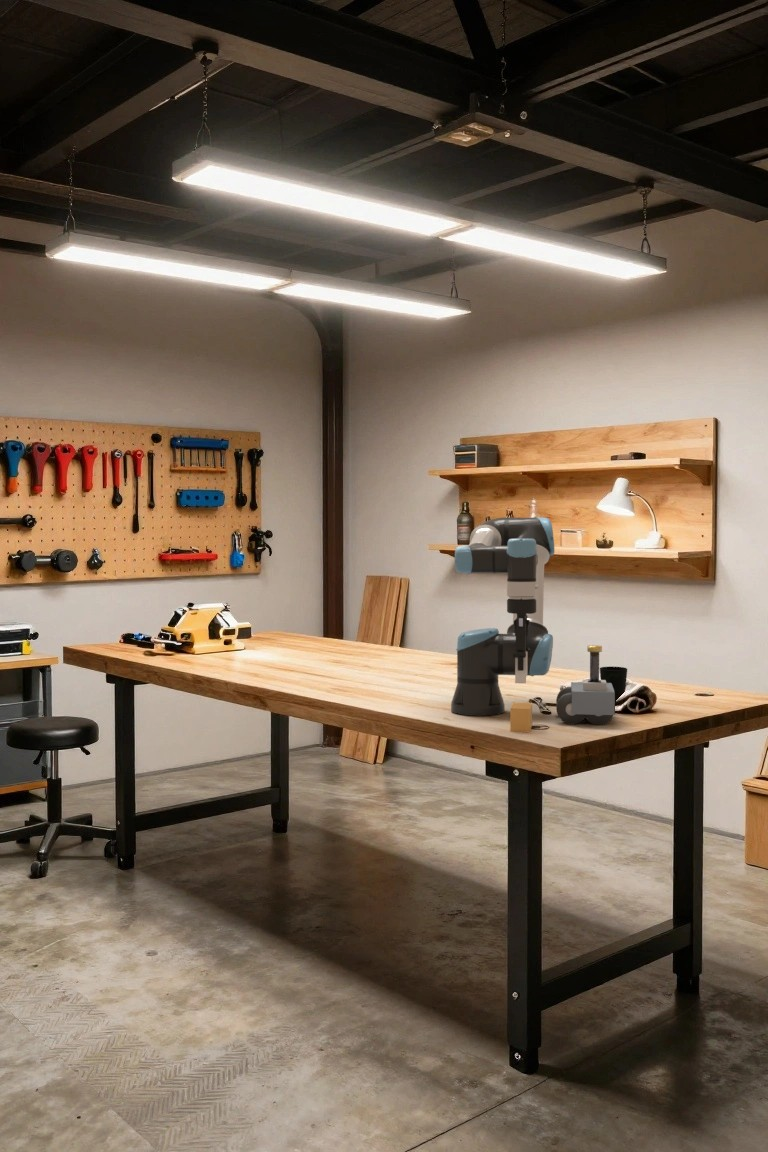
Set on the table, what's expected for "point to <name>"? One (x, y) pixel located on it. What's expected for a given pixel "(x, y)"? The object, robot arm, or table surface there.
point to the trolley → (586, 702)
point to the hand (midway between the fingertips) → (521, 679)
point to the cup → (615, 678)
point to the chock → (521, 717)
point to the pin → (594, 662)
